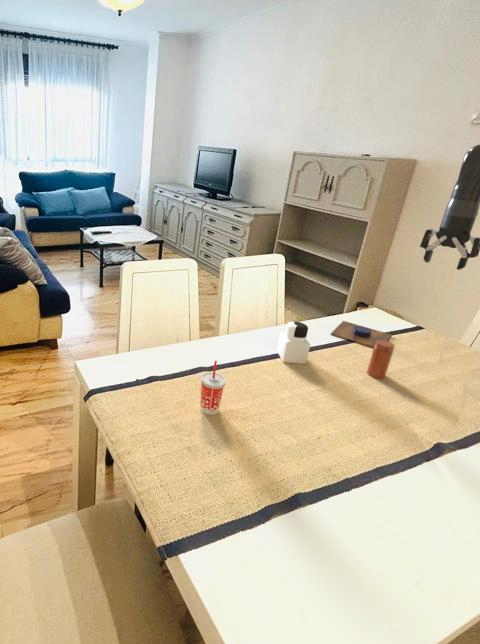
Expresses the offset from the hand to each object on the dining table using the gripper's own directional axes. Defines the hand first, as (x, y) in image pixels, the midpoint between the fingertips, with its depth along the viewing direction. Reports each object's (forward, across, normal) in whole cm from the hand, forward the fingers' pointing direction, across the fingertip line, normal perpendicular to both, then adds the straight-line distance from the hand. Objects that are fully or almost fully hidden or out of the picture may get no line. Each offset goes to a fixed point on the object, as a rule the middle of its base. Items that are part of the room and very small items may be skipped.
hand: (442, 265), depth 122 cm
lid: (+28, -15, -6) cm, 32 cm away
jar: (+30, +2, -30) cm, 42 cm away
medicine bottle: (+30, -17, -44) cm, 56 cm away
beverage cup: (+30, -11, -86) cm, 92 cm away
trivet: (+30, -15, -6) cm, 34 cm away
